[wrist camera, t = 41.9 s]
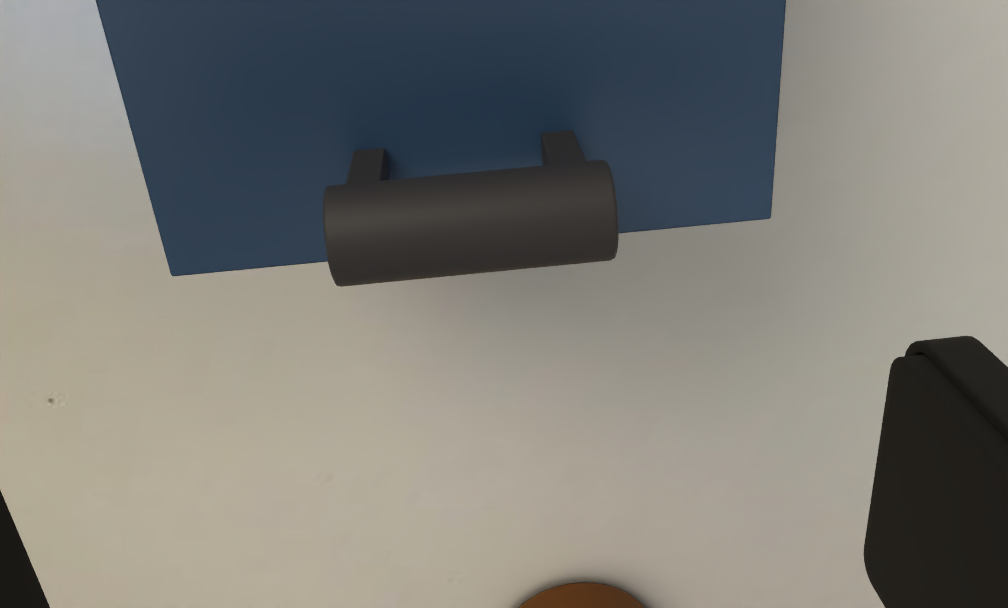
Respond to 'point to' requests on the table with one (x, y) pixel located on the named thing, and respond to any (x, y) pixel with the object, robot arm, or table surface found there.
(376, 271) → the cooler lid
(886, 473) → the robot arm
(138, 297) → the table surface
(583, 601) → the mug
